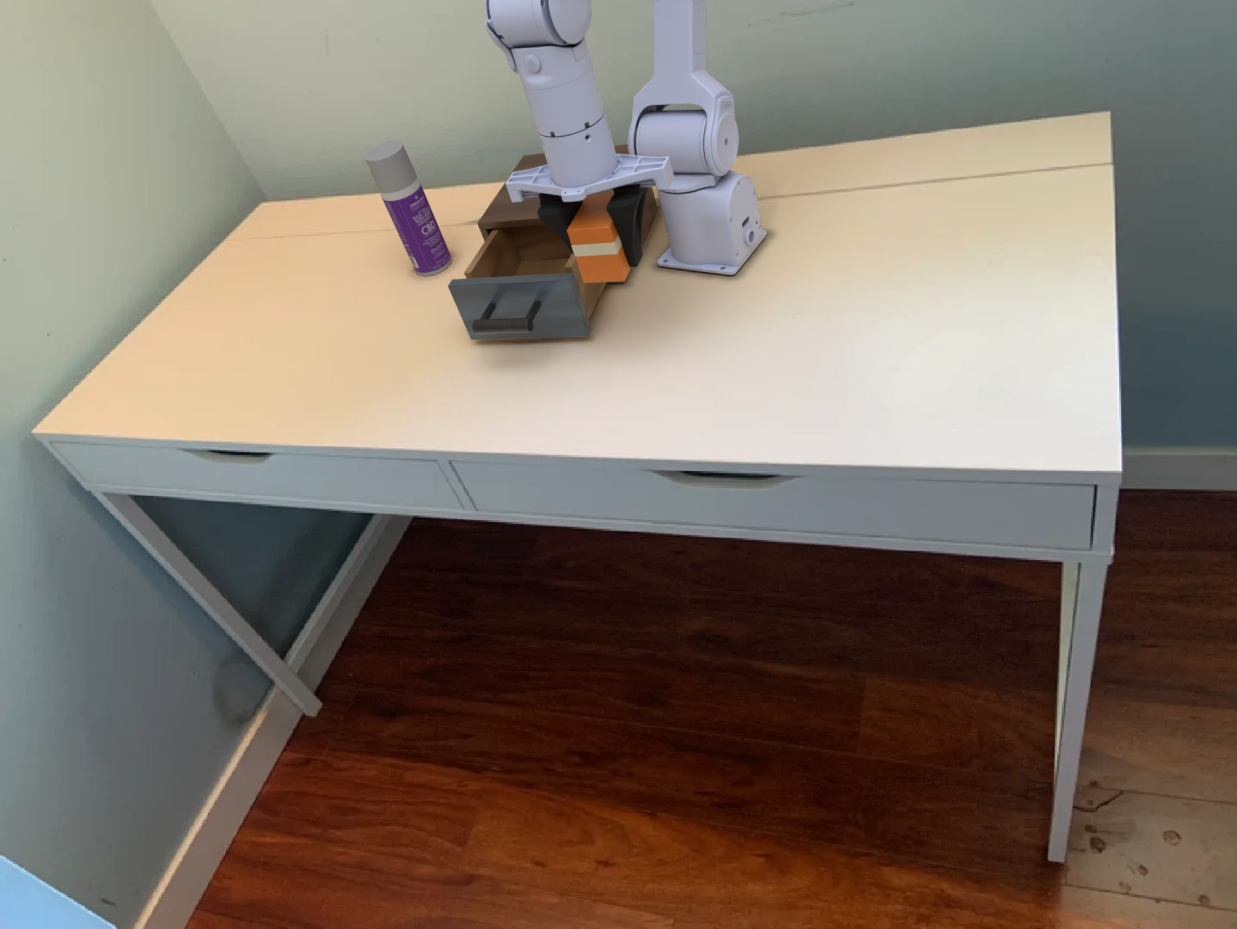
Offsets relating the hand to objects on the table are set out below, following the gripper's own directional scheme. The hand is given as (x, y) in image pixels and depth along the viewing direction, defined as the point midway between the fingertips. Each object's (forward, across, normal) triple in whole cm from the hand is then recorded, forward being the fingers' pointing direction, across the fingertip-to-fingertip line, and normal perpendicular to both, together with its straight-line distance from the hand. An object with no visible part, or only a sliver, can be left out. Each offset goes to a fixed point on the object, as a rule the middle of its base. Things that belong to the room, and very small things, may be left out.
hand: (612, 262), depth 87 cm
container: (+10, -31, +17) cm, 37 cm away
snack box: (0, 0, 0) cm, 0 cm away
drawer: (+9, -12, +5) cm, 16 cm away
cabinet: (+10, -12, +18) cm, 24 cm away
